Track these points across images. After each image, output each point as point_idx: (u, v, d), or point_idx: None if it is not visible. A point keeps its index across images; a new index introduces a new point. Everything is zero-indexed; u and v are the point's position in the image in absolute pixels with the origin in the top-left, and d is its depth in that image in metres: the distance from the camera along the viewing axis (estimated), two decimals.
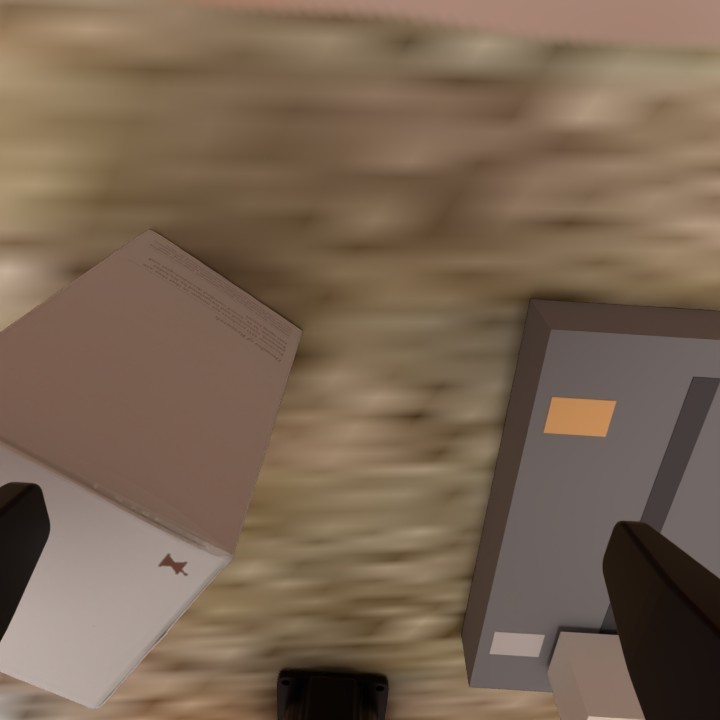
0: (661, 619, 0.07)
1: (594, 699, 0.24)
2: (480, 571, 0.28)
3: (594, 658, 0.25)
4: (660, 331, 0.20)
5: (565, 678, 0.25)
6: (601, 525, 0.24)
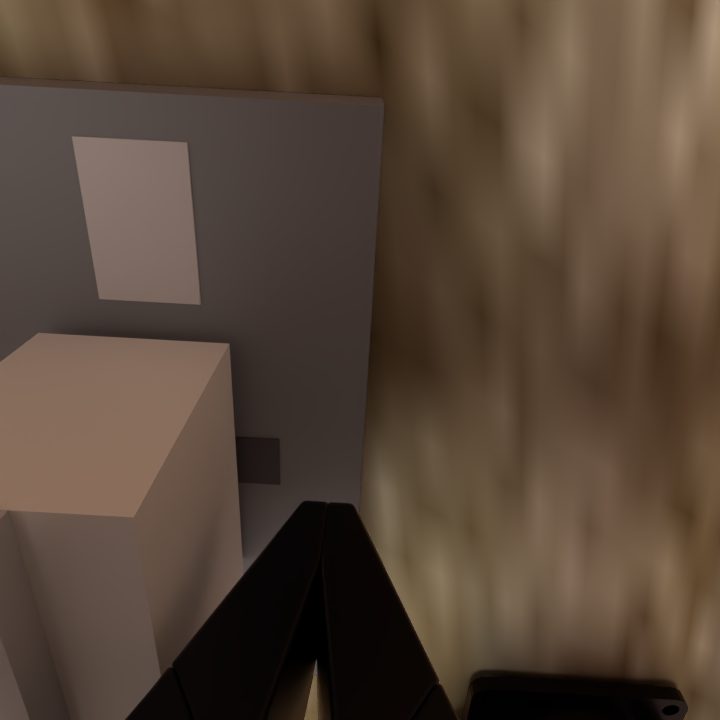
0: (319, 597, 0.07)
1: None
2: None
3: None
4: None
5: None
6: None
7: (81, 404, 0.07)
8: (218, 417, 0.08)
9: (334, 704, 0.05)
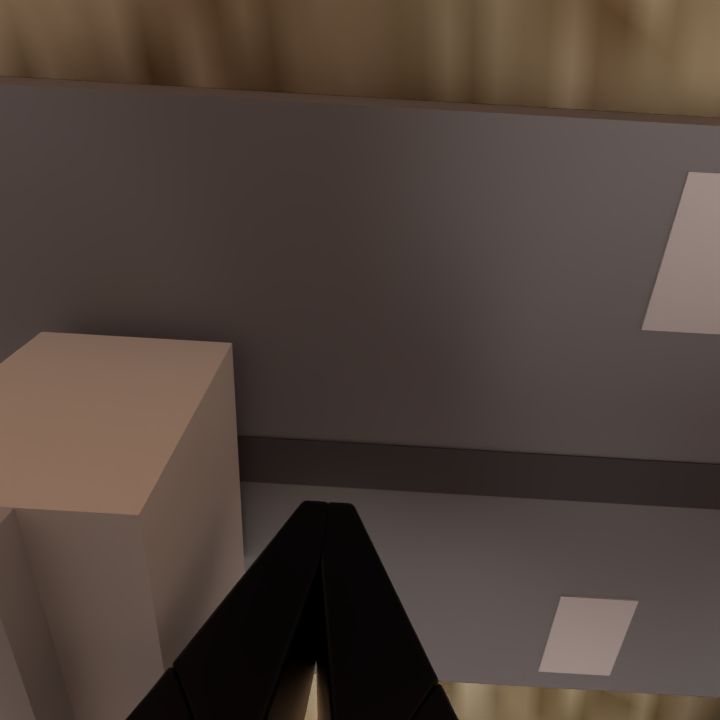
0: (318, 597, 0.07)
1: None
2: None
3: None
4: None
5: None
6: None
7: (85, 403, 0.07)
8: (221, 416, 0.08)
9: (333, 704, 0.05)
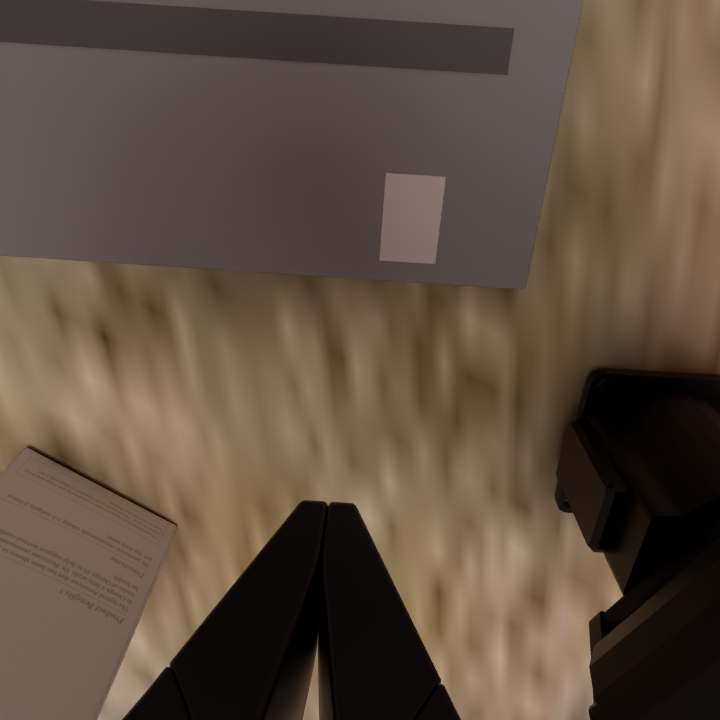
0: (320, 597, 0.07)
1: None
2: None
3: None
4: None
5: None
6: (121, 116, 0.15)
7: None
8: None
9: (336, 704, 0.05)
